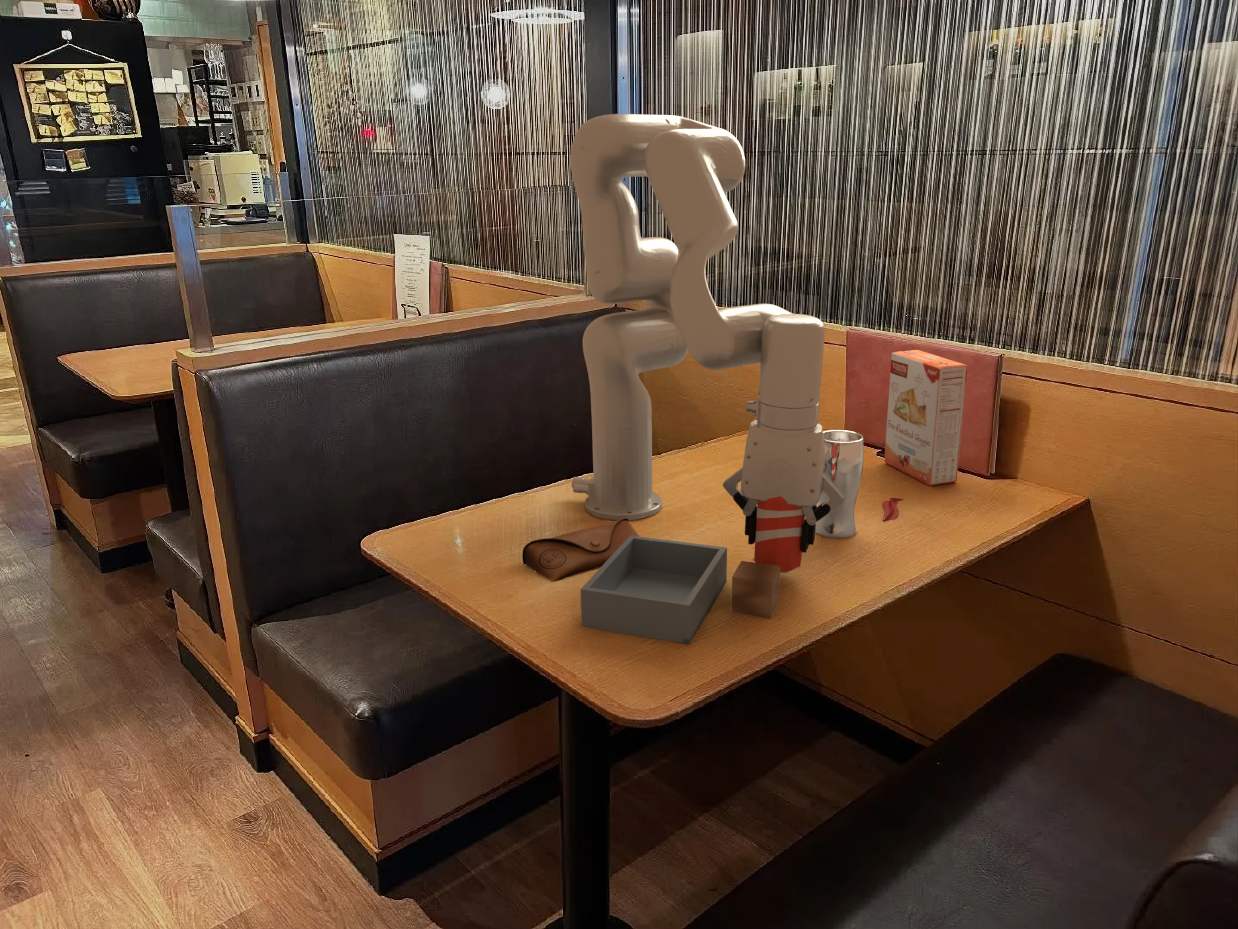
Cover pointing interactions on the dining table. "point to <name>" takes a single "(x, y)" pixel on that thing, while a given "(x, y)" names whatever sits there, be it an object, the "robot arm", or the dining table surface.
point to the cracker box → (925, 416)
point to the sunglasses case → (576, 550)
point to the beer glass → (842, 481)
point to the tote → (655, 589)
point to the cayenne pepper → (891, 509)
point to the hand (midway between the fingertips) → (779, 543)
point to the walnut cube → (755, 589)
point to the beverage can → (779, 534)
